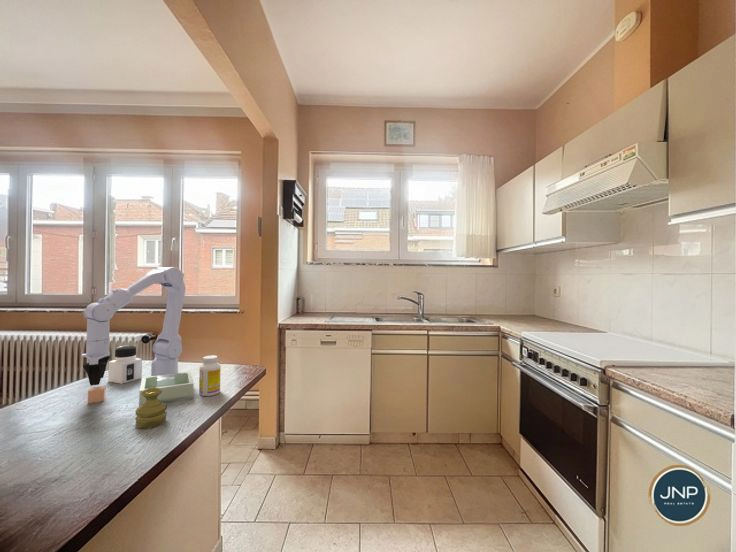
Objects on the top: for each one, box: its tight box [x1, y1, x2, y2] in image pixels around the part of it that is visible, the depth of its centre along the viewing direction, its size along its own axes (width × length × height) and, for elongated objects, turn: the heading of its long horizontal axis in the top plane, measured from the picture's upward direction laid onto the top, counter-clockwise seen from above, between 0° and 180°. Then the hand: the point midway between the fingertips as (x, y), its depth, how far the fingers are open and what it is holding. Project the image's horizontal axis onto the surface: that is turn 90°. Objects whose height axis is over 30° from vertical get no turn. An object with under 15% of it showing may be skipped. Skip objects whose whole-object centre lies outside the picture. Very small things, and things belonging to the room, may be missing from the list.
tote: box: [138, 371, 195, 407], centre depth 113 cm, size 15×15×5 cm
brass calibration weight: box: [135, 387, 168, 429], centre depth 92 cm, size 7×7×10 cm
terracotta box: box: [87, 385, 107, 404], centre depth 107 cm, size 4×4×4 cm
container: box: [107, 344, 143, 385], centre depth 127 cm, size 8×8×13 cm
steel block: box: [157, 375, 175, 387], centre depth 113 cm, size 5×5×5 cm
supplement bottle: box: [198, 354, 221, 397], centre depth 115 cm, size 7×7×13 cm
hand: (97, 381), depth 107 cm, fingers open, 7 cm apart
